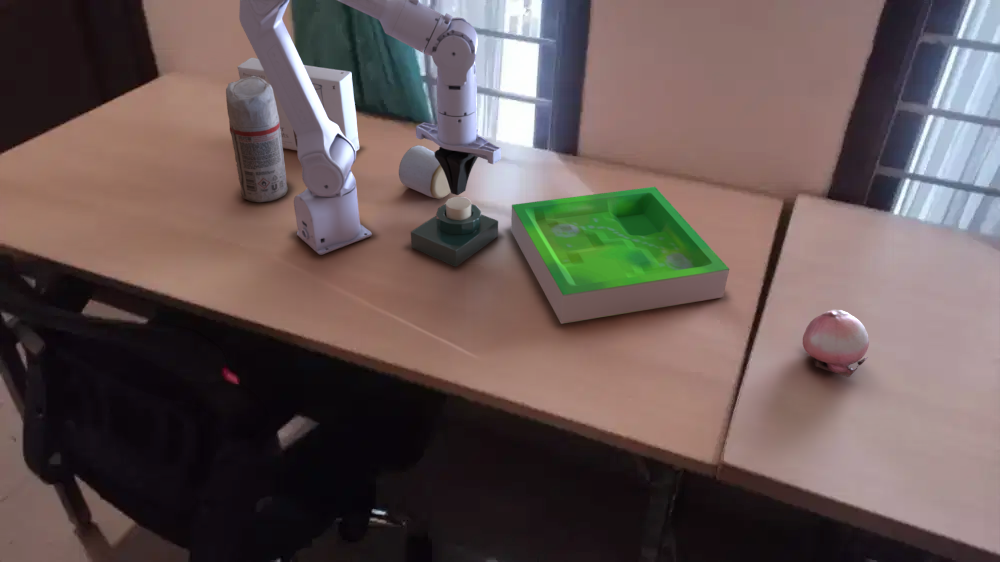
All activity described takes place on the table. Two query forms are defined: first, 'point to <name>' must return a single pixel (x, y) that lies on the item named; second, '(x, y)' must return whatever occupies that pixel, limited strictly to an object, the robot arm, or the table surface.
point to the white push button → (458, 208)
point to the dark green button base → (454, 236)
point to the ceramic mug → (423, 172)
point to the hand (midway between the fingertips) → (458, 191)
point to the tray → (615, 254)
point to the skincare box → (331, 93)
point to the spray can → (256, 139)
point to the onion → (836, 341)
